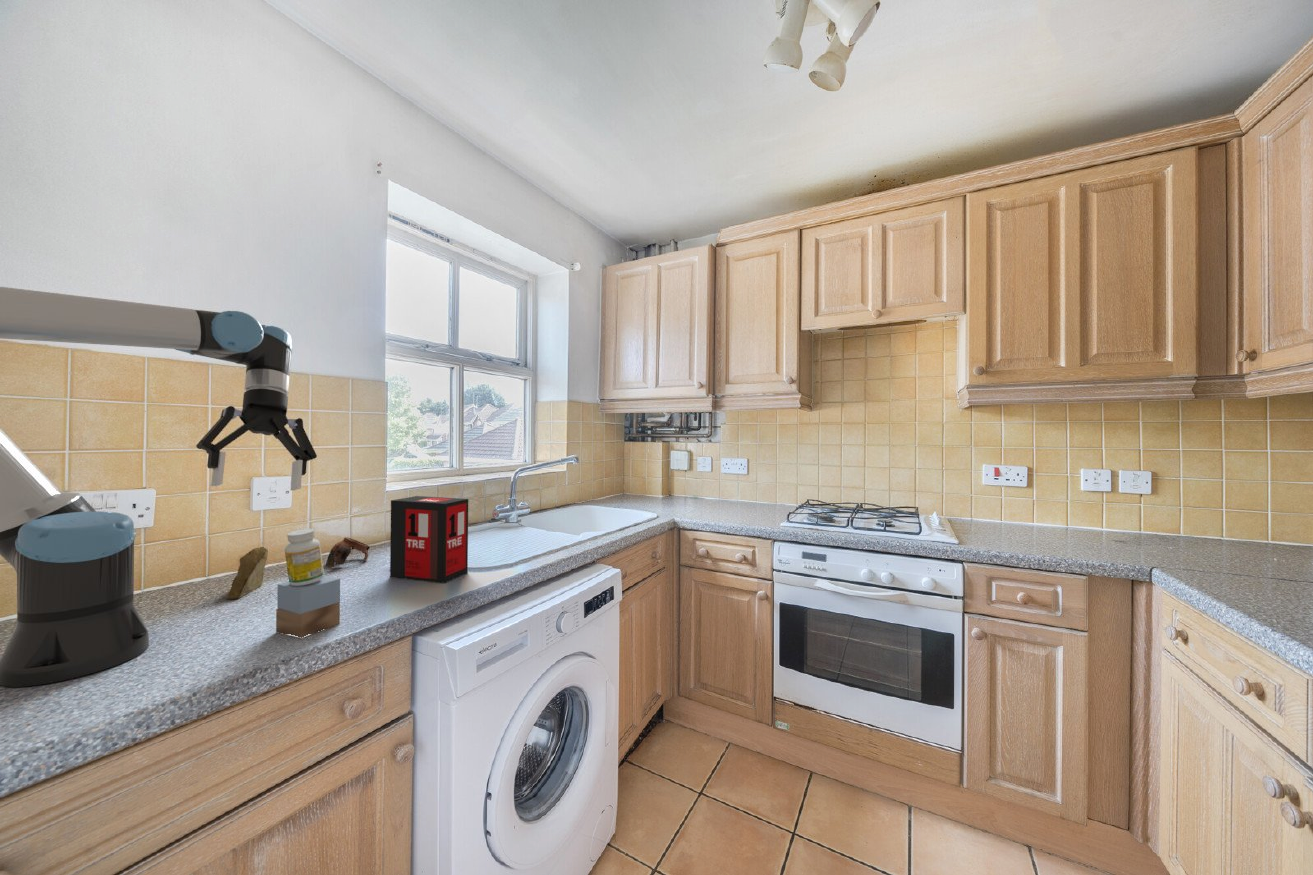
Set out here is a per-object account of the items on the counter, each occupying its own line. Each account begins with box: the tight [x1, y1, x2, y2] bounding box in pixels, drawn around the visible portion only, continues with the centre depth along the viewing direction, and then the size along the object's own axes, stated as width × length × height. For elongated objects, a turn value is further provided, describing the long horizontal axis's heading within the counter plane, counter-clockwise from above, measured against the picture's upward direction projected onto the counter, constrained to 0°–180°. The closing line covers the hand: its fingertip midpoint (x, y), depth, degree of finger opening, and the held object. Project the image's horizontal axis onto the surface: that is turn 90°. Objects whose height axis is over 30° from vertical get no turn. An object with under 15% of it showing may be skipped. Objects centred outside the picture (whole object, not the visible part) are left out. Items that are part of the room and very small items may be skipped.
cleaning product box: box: [389, 495, 469, 584], centre depth 121 cm, size 16×9×20 cm, turn 76°
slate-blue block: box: [276, 575, 341, 615], centre depth 88 cm, size 7×7×4 cm
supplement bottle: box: [284, 528, 325, 586], centre depth 87 cm, size 5×5×10 cm
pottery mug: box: [325, 536, 371, 568], centre depth 130 cm, size 12×10×8 cm
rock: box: [226, 546, 269, 600], centre depth 106 cm, size 11×9×10 cm
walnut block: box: [275, 601, 341, 639], centre depth 87 cm, size 7×7×4 cm
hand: (258, 487), depth 96 cm, fingers open, 13 cm apart
